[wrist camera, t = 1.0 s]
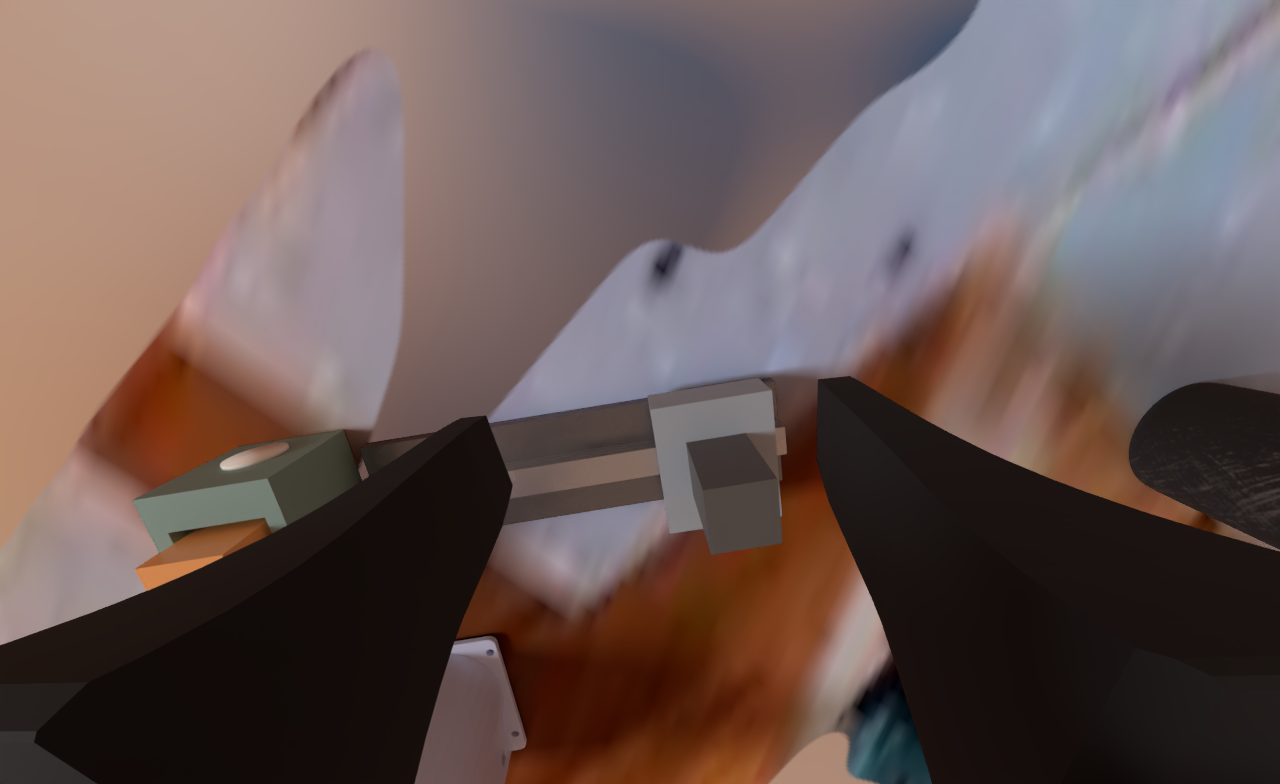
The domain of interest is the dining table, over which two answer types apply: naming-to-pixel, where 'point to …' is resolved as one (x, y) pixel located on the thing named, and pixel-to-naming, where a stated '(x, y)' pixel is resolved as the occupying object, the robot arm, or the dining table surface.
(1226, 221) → the dining table surface
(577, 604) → the dining table surface
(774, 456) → the carriage
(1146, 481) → the travel mug
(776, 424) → the rail
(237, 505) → the cabinet
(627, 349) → the dining table surface
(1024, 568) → the robot arm
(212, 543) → the button
